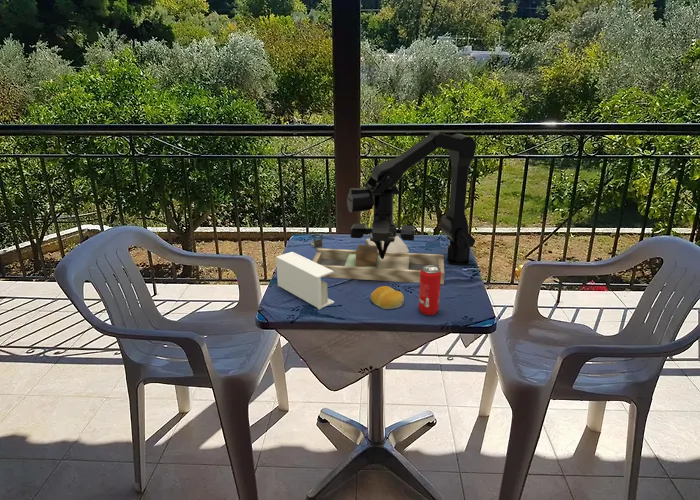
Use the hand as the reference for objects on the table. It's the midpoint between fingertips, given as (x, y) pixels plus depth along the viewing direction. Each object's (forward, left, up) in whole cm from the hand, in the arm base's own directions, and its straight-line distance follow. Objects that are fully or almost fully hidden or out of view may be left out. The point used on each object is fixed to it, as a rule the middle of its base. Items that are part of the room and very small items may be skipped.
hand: (382, 258), depth 154 cm
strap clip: (+24, -17, -5) cm, 29 cm away
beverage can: (-14, +24, -4) cm, 28 cm away
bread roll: (-3, +20, -5) cm, 21 cm away
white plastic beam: (+20, +18, -5) cm, 28 cm away
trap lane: (+2, 0, -4) cm, 4 cm away
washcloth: (0, -17, -5) cm, 18 cm away
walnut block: (+5, 0, -2) cm, 5 cm away
